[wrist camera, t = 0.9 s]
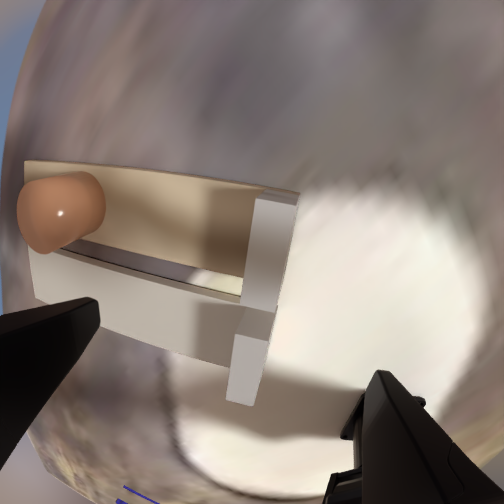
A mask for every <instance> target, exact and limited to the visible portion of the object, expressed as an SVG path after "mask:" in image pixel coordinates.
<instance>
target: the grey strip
mask: <svg viewBox="0 0 504 504" xmlns="http://www.w3.org/2000/svg"><path fill="white" fill-rule="evenodd" d="M28 252H29V260H30V267H31V274H32V280H33V286H34V292H35V297H36V298H37V299H39V300H41V301H43V302H46V303H48V304H55V303H60V302H64V301H69V300H73V299H78V298H82V297H91V298H93V299H96V300H97V301H98V303H99V310H100V319H101V322H100V326H102V327H104V328H107V329H110V330H112V331H115V332H117V333H120V334H123V335H126V336H128V337H131V338H134V339H137V340H140V341H142V342H145V343H148V344H151V345H154V346H157V347H160V348H163V349H166V350H170V351H173V352H176V353H179V354H182V355H186V356H189V357H192V358H196V359H199V360H203V361H206V362H210V363H214V364H217V365H221V366H225V367H229V368H230V372H229V379H228V386H227V393H226V400H228V401H232V402H236V403H240V404H244V405H248V406H252V407H253V406H254V402H255V399H256V395H257V391H258V388H259V384H260V380H261V377H262V373H263V369H264V365H265V361H266V357H267V352H268V348H269V344H270V339H271V335H272V330H273V326H274V321H275V317H276V312H277V308H278V305H277V306H276V310H275V313H273V312H268V311H264V310H259V309H255V308H250V307H246V306H242V305H240V298H241V297H239V296H234V295H230V294H226V293H222V292H218V291H213V290H209V289H205V288H201V287H197V286H193V285H189V284H185V283H181V282H177V281H173V280H169V279H165V278H162V277H158V276H154V275H150V274H146V273H143V272H139V271H135V270H132V269H128V268H124V267H121V266H117V265H114V264H110V263H107V262H103V261H100V260H96V259H93V258H89V257H86V256H82V255H79V254H76V253H72V252H69V251H66V250H62V249H57V250H55V251H53V252H51V253H49V254H39V253H37V252H35V251H34V250H33V249H31V248H30V246H29V245H28Z"/></svg>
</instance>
